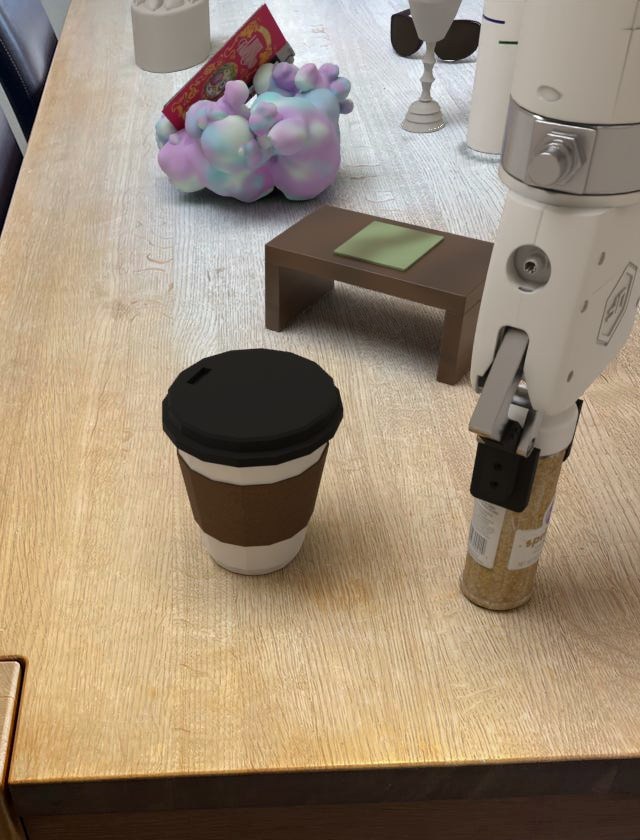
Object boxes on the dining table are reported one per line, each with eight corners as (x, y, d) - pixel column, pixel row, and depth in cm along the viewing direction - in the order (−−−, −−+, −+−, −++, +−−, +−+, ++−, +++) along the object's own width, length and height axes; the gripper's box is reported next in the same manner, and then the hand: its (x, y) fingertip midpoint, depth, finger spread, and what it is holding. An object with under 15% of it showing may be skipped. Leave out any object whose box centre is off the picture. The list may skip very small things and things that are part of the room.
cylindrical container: (492, 125, 116) (532, -146, 98) (545, 139, 112) (597, -142, 94) (452, 143, 113) (486, -132, 95) (505, 158, 109) (551, -127, 91)
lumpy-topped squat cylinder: (215, 42, 146) (213, -28, 140) (199, 71, 138) (196, -1, 132) (146, 44, 149) (140, -25, 142) (126, 73, 140) (119, 2, 134)
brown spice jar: (536, 615, 61) (585, 428, 52) (459, 611, 62) (493, 426, 52) (529, 565, 64) (574, 380, 55) (456, 562, 65) (487, 379, 55)
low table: (504, 335, 84) (520, 245, 78) (453, 385, 79) (466, 294, 74) (320, 285, 93) (323, 201, 87) (264, 327, 88) (264, 241, 82)
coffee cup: (141, 567, 67) (122, 413, 59) (226, 479, 73) (220, 328, 65) (285, 623, 62) (288, 465, 54) (363, 524, 68) (376, 368, 60)
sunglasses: (377, 55, 137) (380, 13, 133) (431, 23, 145) (435, -18, 141) (471, 67, 130) (477, 24, 127) (522, 32, 138) (528, -10, 135)
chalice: (380, 122, 119) (393, -58, 107) (426, 109, 121) (444, -70, 108) (418, 140, 115) (436, -46, 102) (466, 126, 116) (490, -59, 104)
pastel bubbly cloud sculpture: (286, 203, 94) (339, -11, 89) (94, 165, 102) (131, -34, 96) (348, 235, 112) (396, 59, 106) (180, 201, 120) (216, 35, 114)
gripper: (599, 232, 38) (515, 586, 51) (746, 91, 46) (642, 425, 59) (420, 194, 41) (384, 534, 54) (586, 70, 50) (521, 389, 63)
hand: (519, 474), depth 57 cm, fingers closed on brown spice jar, 4 cm apart
